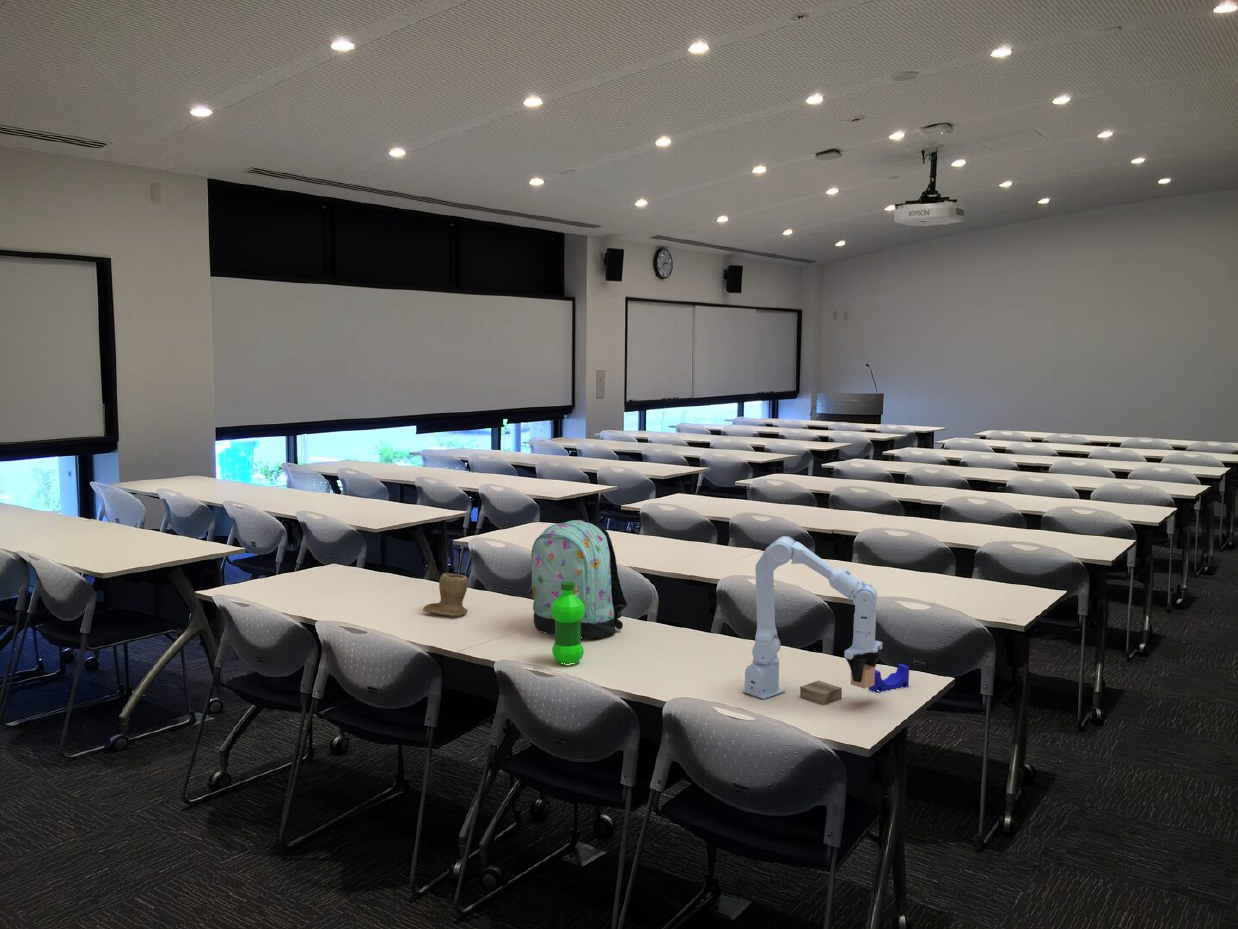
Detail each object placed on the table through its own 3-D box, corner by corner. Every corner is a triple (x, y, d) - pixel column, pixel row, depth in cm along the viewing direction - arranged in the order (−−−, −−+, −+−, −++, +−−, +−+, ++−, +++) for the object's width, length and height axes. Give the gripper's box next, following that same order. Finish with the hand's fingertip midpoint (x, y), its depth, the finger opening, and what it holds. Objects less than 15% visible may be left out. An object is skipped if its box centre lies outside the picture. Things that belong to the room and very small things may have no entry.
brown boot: (475, 612, 349) (474, 572, 347) (455, 620, 338) (454, 579, 337) (442, 607, 356) (441, 568, 354) (421, 615, 345) (421, 574, 344)
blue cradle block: (897, 682, 275) (898, 662, 274) (908, 687, 271) (909, 666, 270) (864, 688, 270) (865, 668, 269) (875, 693, 266) (876, 672, 265)
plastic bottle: (568, 670, 284) (568, 588, 281) (544, 662, 291) (543, 583, 288) (591, 662, 291) (591, 583, 289) (567, 655, 298) (567, 577, 296)
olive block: (823, 705, 256) (823, 694, 256) (800, 697, 262) (800, 686, 262) (841, 698, 261) (841, 687, 261) (818, 690, 267) (818, 680, 267)
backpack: (515, 638, 317) (514, 524, 313) (546, 619, 340) (545, 513, 336) (604, 648, 306) (604, 530, 302) (630, 628, 329) (631, 519, 324)
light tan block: (864, 688, 254) (865, 670, 253) (850, 684, 257) (851, 666, 256) (874, 685, 257) (875, 667, 256) (860, 680, 260) (861, 663, 259)
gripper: (860, 638, 247) (859, 689, 249) (892, 629, 257) (890, 677, 258) (838, 632, 253) (837, 682, 254) (870, 623, 262) (868, 671, 264)
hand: (862, 679), depth 257 cm, fingers closed on light tan block, 4 cm apart
